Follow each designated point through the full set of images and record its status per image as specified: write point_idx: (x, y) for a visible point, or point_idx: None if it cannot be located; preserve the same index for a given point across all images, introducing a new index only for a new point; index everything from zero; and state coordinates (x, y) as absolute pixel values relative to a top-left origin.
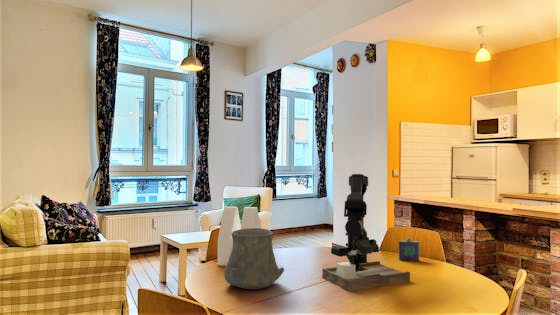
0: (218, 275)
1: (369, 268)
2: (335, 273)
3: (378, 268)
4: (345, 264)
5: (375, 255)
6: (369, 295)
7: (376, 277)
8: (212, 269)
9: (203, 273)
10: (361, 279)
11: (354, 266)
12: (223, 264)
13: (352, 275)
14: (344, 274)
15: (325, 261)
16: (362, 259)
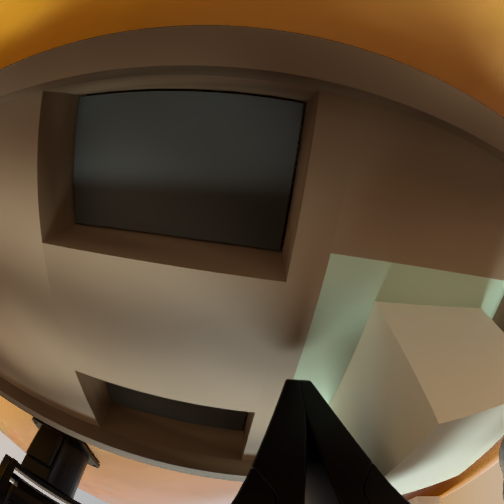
0: (497, 455)
1: (59, 380)
2: None
3: (7, 338)
4: (469, 449)
5: (5, 422)
6: (452, 8)
7: (238, 26)
8: (467, 479)
9: (493, 462)
10: (489, 120)
11: (445, 403)
12: (436, 498)
13: (421, 317)
14: (502, 331)
15: (187, 500)
16: (53, 447)
